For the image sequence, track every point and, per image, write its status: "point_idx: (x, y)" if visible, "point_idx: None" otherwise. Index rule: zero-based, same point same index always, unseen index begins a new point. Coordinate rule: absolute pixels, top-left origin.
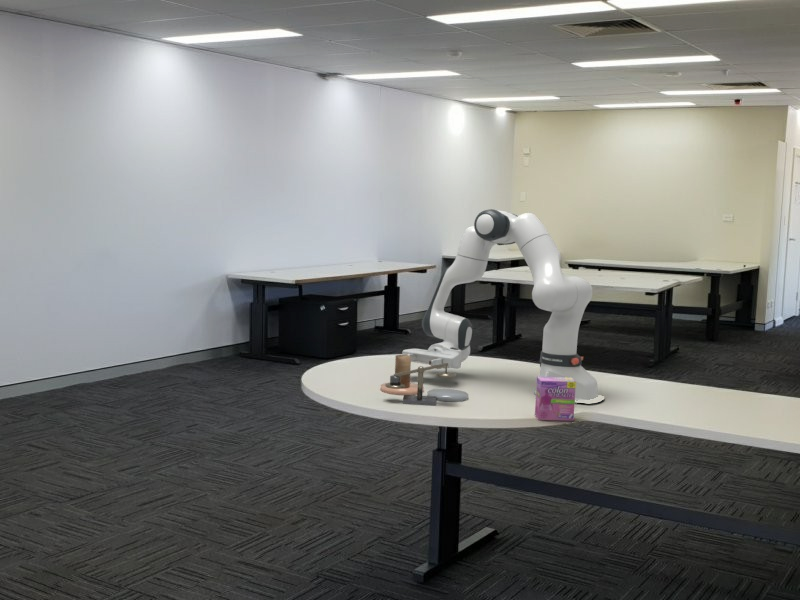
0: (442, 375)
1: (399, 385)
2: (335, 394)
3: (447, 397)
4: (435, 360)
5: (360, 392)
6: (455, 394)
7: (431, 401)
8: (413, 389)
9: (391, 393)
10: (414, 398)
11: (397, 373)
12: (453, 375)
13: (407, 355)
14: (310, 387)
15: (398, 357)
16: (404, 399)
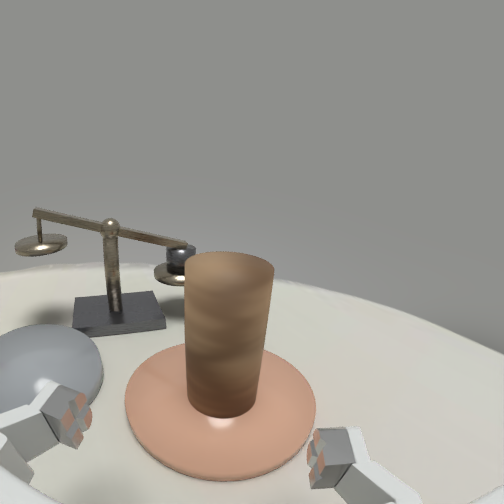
0: (54, 234)
1: (166, 268)
2: (325, 302)
3: (41, 326)
4: (30, 409)
5: (304, 331)
6: (12, 356)
7: (85, 297)
8: (158, 374)
9: None
10: (128, 302)
11: (176, 240)
12: (26, 238)
13: (220, 278)
14: (405, 313)
15: (236, 254)
16: (149, 292)
